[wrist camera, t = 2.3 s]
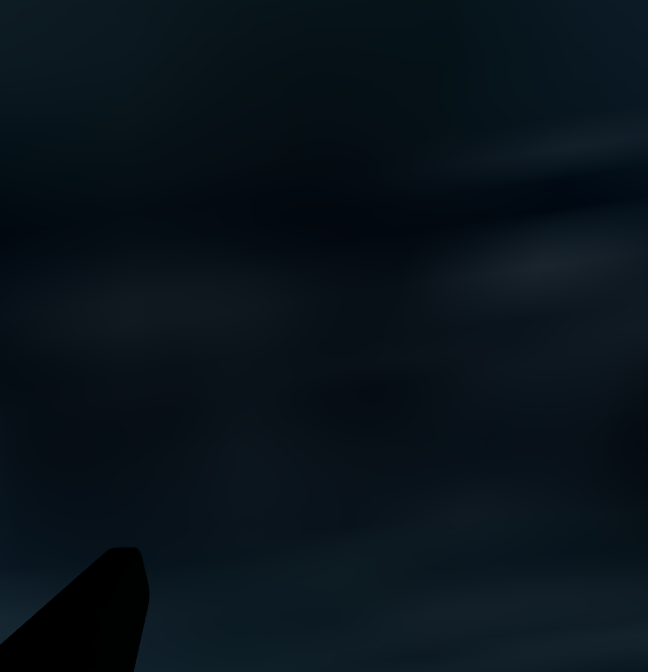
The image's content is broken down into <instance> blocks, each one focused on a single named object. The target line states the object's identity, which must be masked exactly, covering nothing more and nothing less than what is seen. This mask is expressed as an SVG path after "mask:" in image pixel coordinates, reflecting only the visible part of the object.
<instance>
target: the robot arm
mask: <svg viewBox="0 0 648 672" xmlns="http://www.w3.org/2000/svg"><path fill="white" fill-rule="evenodd" d="M148 604H149V585H148V581H147V576H146V572H145V568H144V564H143V559H142V555H141V553H140V551H139V549H137V548H134V547H124V548H111V549H109V550H108V551H106V552H105V553H104V554H103V555H102V556H100V557H99V558H98V559H97V560H96V561H95V562H94V563H92V564H91V565H90V566H89V567H88V568H87V569H86V570H84V571H83V572H82V573H81V574H80V575H79V576H78V577H77V578H75V579H74V580H73V581H72V582H71V583H70V584H69V585H67V586H66V587H65V588H64V589H63V590H62V591H61V592H60V593H58V594H57V595H56V596H55V597H54V598H53V599H52V600H50V601H49V602H48V603H47V604H46V605H45V606H44V607H42V608H41V609H40V610H39V611H38V612H37V613H36V614H35V615H33V616H32V617H31V618H30V619H29V620H28V621H27V622H25V623H24V624H23V625H22V626H21V627H20V628H19V629H17V630H16V631H15V632H14V633H13V634H12V635H11V636H10V637H8V638H7V639H6V640H5V641H4V642H3V643H2V644H0V672H134V668H135V664H136V659H137V654H138V650H139V645H140V641H141V636H142V632H143V627H144V623H145V618H146V614H147V609H148Z"/></svg>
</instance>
